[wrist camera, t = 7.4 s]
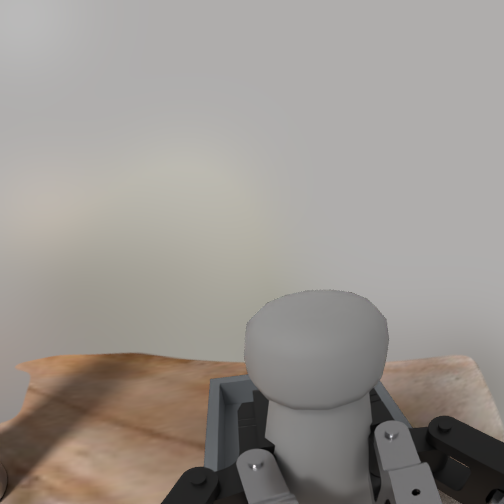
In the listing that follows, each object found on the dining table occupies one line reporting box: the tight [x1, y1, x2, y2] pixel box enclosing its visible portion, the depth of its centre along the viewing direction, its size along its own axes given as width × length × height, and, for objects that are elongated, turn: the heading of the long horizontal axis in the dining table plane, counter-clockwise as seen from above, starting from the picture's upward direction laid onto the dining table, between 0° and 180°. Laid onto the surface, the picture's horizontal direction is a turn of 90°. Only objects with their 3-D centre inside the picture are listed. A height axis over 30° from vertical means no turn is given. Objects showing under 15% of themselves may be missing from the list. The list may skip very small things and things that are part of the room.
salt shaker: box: [244, 290, 389, 504], centre depth 10 cm, size 6×6×13 cm
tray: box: [204, 374, 412, 472], centre depth 25 cm, size 16×14×4 cm
